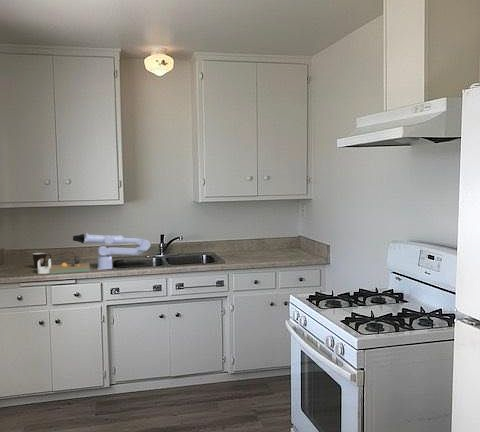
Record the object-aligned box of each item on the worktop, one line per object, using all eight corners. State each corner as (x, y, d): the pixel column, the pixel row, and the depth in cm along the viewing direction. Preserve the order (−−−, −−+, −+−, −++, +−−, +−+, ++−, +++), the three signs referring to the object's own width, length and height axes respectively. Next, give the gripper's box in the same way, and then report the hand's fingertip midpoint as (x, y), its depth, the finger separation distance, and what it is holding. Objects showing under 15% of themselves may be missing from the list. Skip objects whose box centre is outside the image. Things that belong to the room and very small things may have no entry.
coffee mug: (32, 269, 343) (31, 254, 343) (33, 267, 351) (33, 252, 351) (50, 268, 346) (50, 253, 346) (51, 266, 355) (51, 252, 354)
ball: (67, 268, 337) (67, 262, 337) (67, 269, 333) (67, 263, 333) (61, 268, 336) (61, 262, 336) (61, 269, 332) (60, 263, 332)
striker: (79, 267, 340) (79, 255, 340) (79, 268, 335) (79, 256, 334) (74, 267, 339) (74, 255, 339) (74, 268, 334) (74, 256, 333)
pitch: (89, 268, 345) (89, 256, 345) (89, 271, 334) (89, 258, 333) (39, 271, 335) (38, 259, 335) (37, 274, 324) (37, 261, 323)
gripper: (94, 232, 346) (73, 231, 342) (94, 234, 332) (73, 233, 328) (93, 242, 346) (72, 241, 342) (94, 244, 332) (72, 244, 328)
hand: (72, 238), depth 335 cm, fingers open, 7 cm apart
